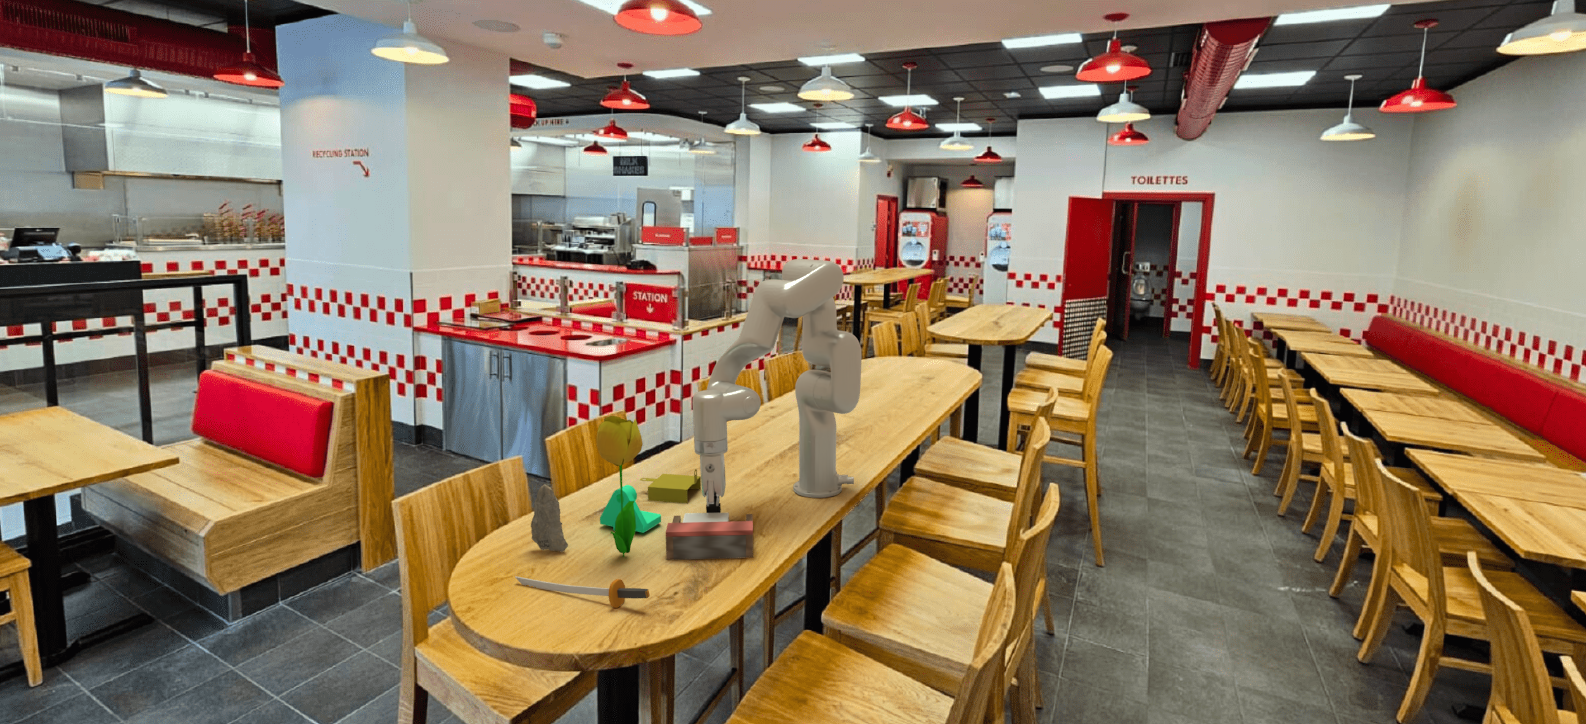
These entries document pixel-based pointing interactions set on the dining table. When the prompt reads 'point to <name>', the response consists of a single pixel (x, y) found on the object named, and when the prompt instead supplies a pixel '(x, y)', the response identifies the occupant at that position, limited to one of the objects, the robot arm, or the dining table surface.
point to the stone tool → (547, 521)
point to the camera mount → (614, 507)
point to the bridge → (709, 539)
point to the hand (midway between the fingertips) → (713, 520)
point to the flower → (620, 469)
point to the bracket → (672, 487)
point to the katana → (592, 590)
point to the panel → (706, 517)
